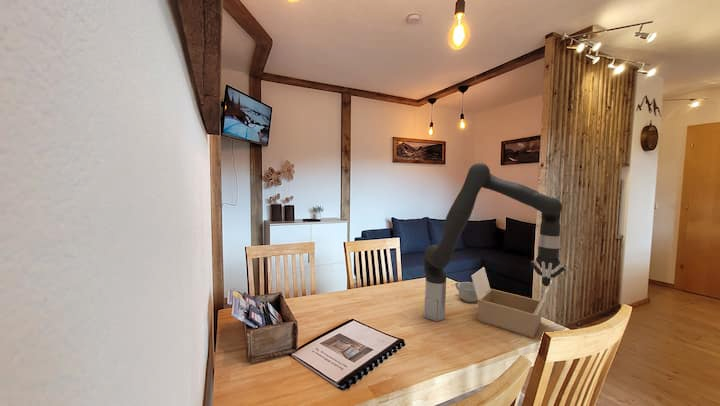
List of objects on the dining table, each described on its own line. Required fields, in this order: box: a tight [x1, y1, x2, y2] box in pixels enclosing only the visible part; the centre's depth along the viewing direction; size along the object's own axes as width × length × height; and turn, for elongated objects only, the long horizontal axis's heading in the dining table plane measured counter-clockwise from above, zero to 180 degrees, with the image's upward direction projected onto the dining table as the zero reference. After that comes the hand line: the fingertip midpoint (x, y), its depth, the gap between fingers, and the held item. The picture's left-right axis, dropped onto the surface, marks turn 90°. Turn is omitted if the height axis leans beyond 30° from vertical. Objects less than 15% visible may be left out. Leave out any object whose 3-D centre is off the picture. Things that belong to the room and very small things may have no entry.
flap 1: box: [470, 266, 491, 300], centre depth 139 cm, size 17×11×1 cm
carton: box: [477, 288, 543, 340], centre depth 131 cm, size 18×22×10 cm
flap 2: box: [536, 279, 553, 315], centre depth 122 cm, size 17×11×1 cm
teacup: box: [454, 281, 479, 303], centre depth 156 cm, size 14×11×8 cm
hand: (545, 285), depth 124 cm, fingers closed
